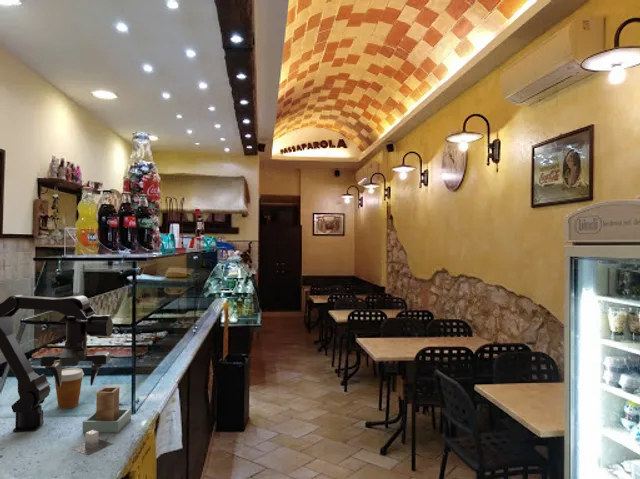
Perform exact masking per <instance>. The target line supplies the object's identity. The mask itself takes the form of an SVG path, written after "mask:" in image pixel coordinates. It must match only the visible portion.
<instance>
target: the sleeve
mask: <svg viewBox="0 0 640 479" xmlns="http://www.w3.org/2000/svg"><path fill="white" fill-rule="evenodd" d="M95 407H96V408H95V409H96V410H95V411H96V421H117V420H118V419H119V409H120V387H119V386H117V387H115V386H113V387H112V386H107V387H105V386H103V387H102V388H101V389H99V390H98V391H97V392H96V406H95Z"/></svg>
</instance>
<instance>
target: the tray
mask: <svg viewBox="0 0 640 479" xmlns="http://www.w3.org/2000/svg"><path fill="white" fill-rule="evenodd" d="M131 420H132V408H119V419H118V420H117V421H96V410H95V411H94V412H93V413H91V414H90V415H89V416H87V418H85V419H84V420H83V421H82V434H85V433H86V432H89V431H91V430H95V431H99V434H119V433H120V432H121V431H122V430H123V429H124V427H126V425H127V424H128V423H129V422H130V421H131Z"/></svg>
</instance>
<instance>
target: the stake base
mask: <svg viewBox="0 0 640 479" xmlns="http://www.w3.org/2000/svg"><path fill="white" fill-rule="evenodd" d="M99 434H100V433H99V431H95V430H91V431H89V432H86V433H84V435H85V436H84V437H85V439H84V442H81V443H79V444H77V445H74V446H72V447H71V448H70V447H69V450H72V451H75V452H78V453H80V454H83V455H87V456H91V455H93V454H94V453H97V452H100V451H101V450H104V449H106V448H107V447H110V446H112V445H114V443H113V442H109V441H106V440H103V439H100V438H99Z"/></svg>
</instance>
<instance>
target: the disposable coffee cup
mask: <svg viewBox="0 0 640 479" xmlns="http://www.w3.org/2000/svg"><path fill="white" fill-rule="evenodd" d="M84 376H85V373H84V371H83V369H82V368H79V367H78V368H77V367H72V368H71V367H69V368H62V382H61V387H58V384H57V382H56V379H55V377H54V375H53V376H52V378H53V379H54V386H55V391H56V392H55V394H56V400H57V401H56V402H57V407H58V409H65V410H66V409H72V408H74V407H77V406H78V405H79V402H80V396H81V389H82V388H81V387H82V381H83V377H84Z"/></svg>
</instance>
